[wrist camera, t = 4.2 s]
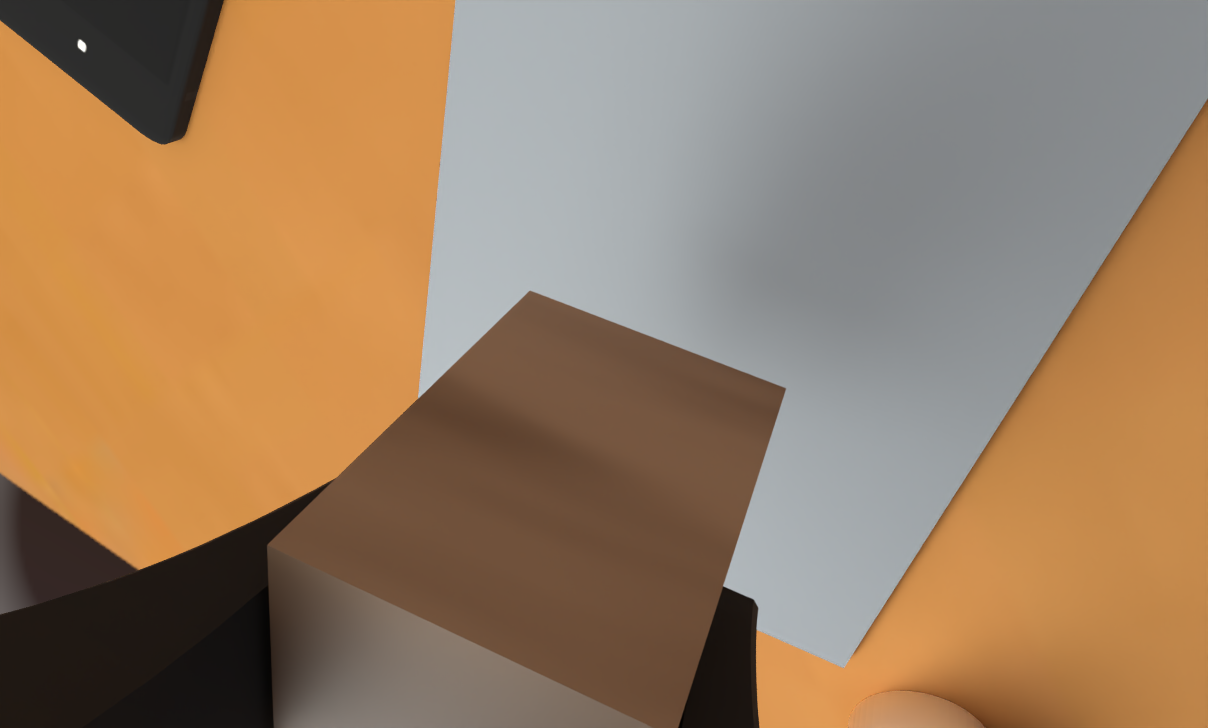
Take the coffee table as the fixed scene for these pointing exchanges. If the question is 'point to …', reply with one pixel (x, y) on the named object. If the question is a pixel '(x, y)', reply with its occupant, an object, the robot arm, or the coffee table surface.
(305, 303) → the coffee table surface
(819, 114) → the slate board
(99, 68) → the cell phone
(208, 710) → the robot arm
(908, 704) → the cream rounded cylinder
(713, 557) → the walnut block
